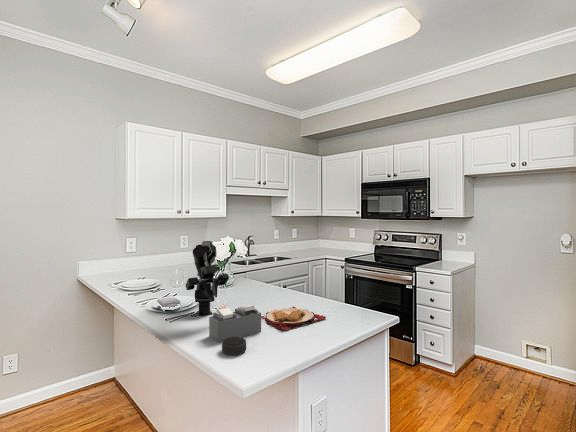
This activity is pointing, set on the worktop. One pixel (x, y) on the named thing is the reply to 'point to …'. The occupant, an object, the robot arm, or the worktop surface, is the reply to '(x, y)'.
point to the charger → (168, 302)
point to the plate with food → (290, 317)
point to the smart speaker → (234, 346)
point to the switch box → (234, 325)
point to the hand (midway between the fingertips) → (213, 297)
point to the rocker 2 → (246, 308)
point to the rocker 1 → (224, 312)
